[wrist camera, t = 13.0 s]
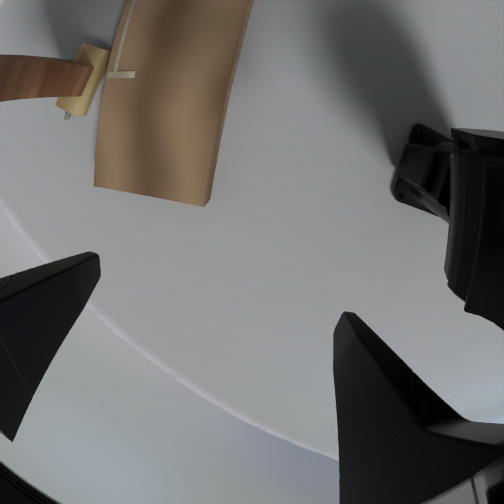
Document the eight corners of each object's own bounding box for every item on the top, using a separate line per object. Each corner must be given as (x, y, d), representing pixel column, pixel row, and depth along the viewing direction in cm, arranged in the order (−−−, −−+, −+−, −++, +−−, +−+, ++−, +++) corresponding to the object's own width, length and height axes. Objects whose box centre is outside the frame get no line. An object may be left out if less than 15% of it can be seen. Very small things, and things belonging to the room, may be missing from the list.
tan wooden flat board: (267, -46, 11) (266, -59, 10) (210, 199, 21) (203, 207, 19) (158, -45, 11) (148, -55, 9) (106, 180, 21) (93, 186, 19)
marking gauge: (115, 52, 16) (-1, 30, 5) (82, 124, 19) (-35, 150, 8) (92, 45, 16) (-19, 28, 4) (62, 113, 18) (-49, 135, 7)
